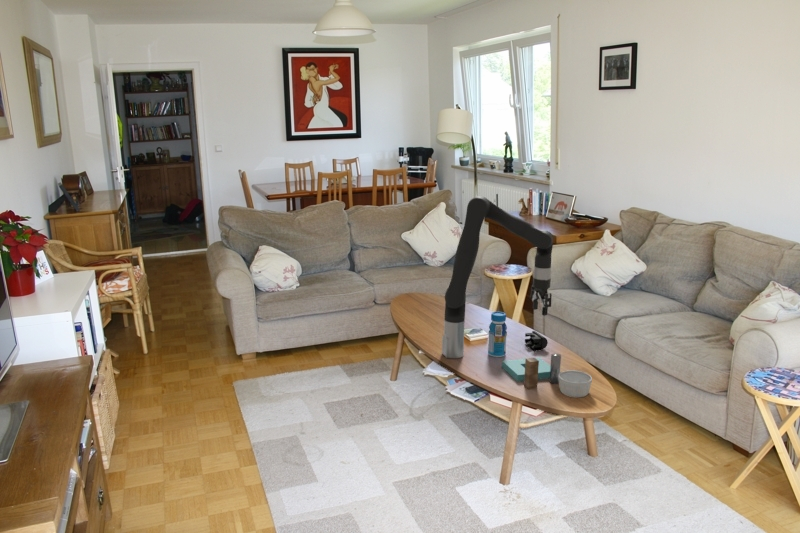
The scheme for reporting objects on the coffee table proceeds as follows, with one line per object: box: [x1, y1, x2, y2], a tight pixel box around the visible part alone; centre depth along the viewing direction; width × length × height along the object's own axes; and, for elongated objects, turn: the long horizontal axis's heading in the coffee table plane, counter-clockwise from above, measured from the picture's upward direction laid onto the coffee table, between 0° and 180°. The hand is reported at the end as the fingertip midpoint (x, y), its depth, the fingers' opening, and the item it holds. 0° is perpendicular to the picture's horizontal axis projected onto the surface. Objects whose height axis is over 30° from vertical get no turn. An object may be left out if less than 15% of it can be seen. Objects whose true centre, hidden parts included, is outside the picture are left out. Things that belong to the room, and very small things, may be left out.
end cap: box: [524, 330, 549, 352], centre depth 320 cm, size 10×7×7 cm
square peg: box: [523, 357, 539, 390], centre depth 275 cm, size 4×4×12 cm
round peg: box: [549, 353, 562, 385], centre depth 280 cm, size 4×4×12 cm
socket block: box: [501, 356, 551, 382], centre depth 291 cm, size 18×16×3 cm
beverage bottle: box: [487, 311, 508, 358], centre depth 309 cm, size 8×8×20 cm
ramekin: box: [558, 369, 593, 398], centre depth 272 cm, size 13×13×7 cm
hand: (539, 312), depth 294 cm, fingers open, 8 cm apart
